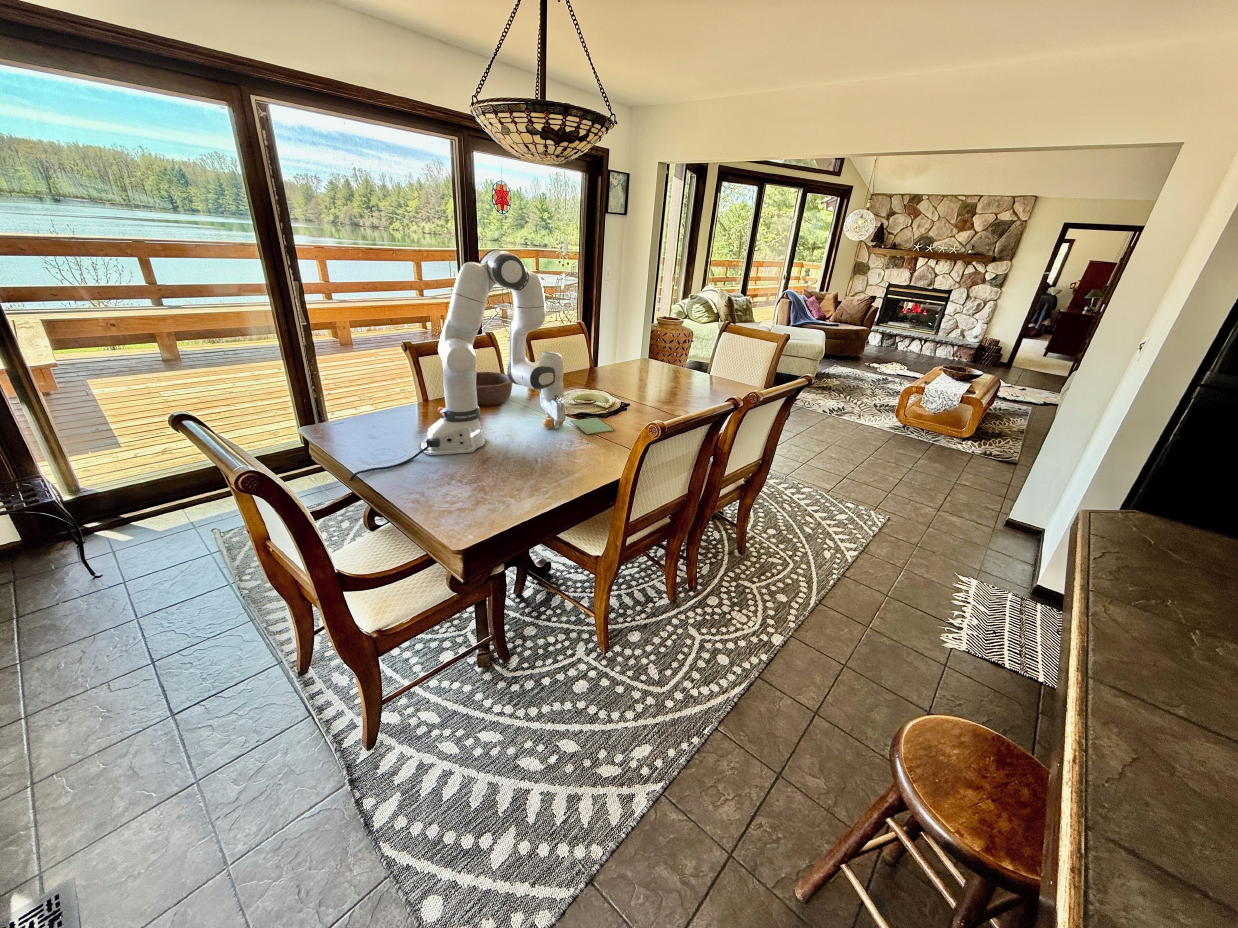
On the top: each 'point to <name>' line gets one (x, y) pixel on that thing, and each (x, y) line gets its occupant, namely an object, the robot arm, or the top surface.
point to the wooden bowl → (492, 388)
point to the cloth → (592, 425)
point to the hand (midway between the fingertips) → (553, 424)
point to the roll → (550, 423)
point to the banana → (591, 397)
